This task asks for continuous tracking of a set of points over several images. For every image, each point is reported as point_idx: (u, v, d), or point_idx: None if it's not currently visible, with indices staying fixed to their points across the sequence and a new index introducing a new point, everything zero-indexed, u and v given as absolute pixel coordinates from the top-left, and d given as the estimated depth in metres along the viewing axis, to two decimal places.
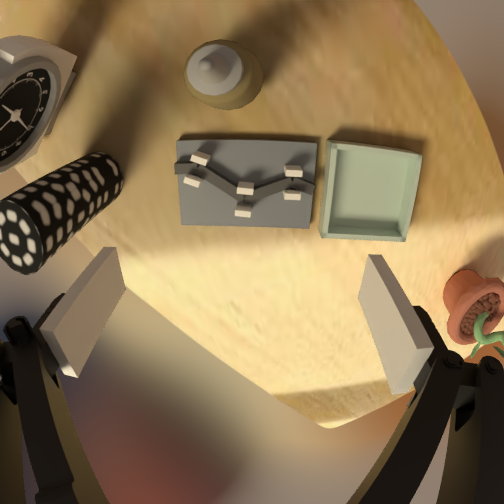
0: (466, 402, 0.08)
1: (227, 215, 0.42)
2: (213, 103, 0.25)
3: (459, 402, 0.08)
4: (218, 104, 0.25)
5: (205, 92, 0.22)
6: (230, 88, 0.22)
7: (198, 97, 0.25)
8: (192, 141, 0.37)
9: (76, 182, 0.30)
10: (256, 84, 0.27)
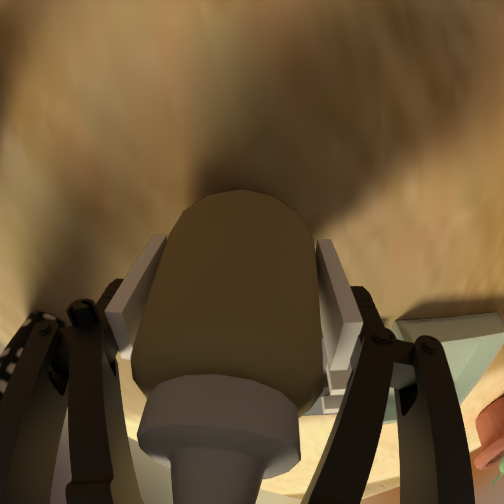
0: (404, 382, 0.09)
1: None
2: None
3: (396, 381, 0.09)
4: None
5: None
6: (263, 478, 0.08)
7: None
8: None
9: None
10: None
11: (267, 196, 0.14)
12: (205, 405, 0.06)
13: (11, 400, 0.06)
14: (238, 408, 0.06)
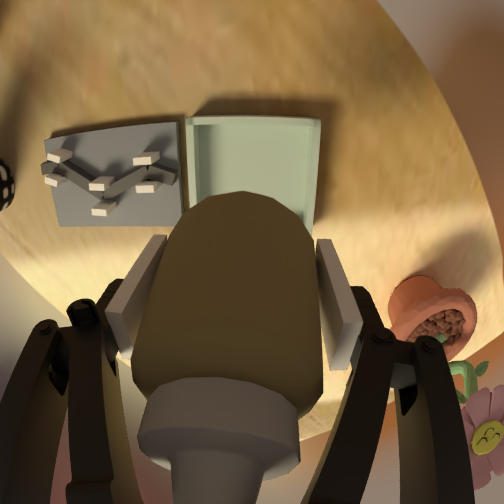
0: (404, 382, 0.09)
1: (96, 215, 0.34)
2: None
3: (396, 381, 0.09)
4: None
5: None
6: (263, 480, 0.08)
7: None
8: (56, 138, 0.29)
9: None
10: None
11: (267, 198, 0.14)
12: (205, 408, 0.06)
13: (11, 400, 0.06)
14: (238, 411, 0.06)
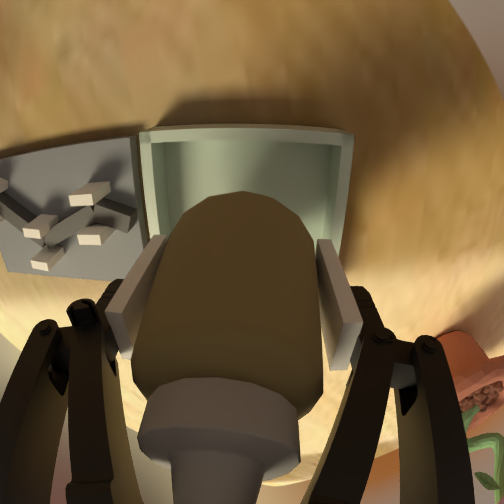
0: (404, 382, 0.09)
1: None
2: None
3: (396, 381, 0.09)
4: None
5: None
6: (263, 480, 0.08)
7: None
8: None
9: None
10: None
11: (267, 198, 0.14)
12: (205, 408, 0.06)
13: (11, 400, 0.06)
14: (238, 411, 0.06)
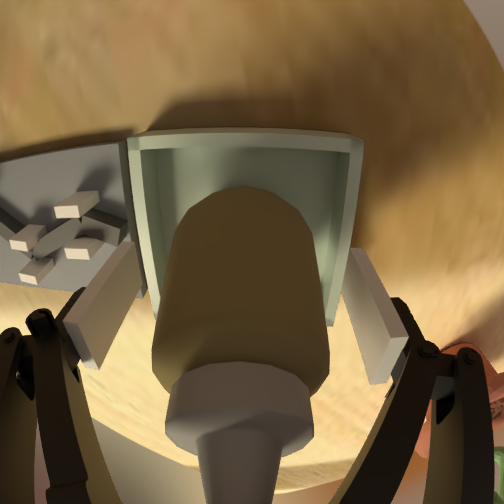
0: (444, 394, 0.09)
1: None
2: None
3: (437, 393, 0.09)
4: None
5: None
6: None
7: None
8: None
9: None
10: None
11: (269, 193, 0.15)
12: (231, 389, 0.07)
13: None
14: (261, 390, 0.07)
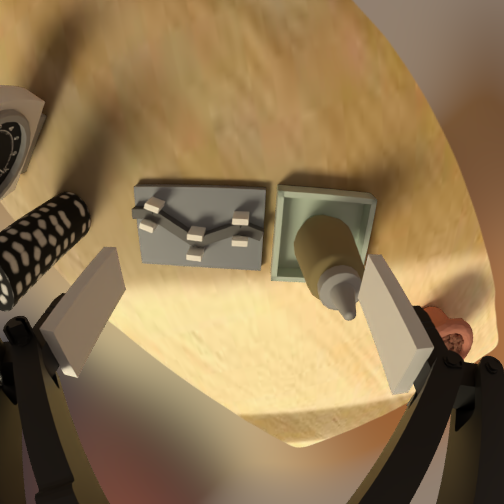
0: (466, 402, 0.08)
1: (183, 256, 0.44)
2: None
3: (459, 402, 0.08)
4: None
5: (331, 308, 0.30)
6: None
7: (317, 297, 0.33)
8: (148, 187, 0.39)
9: (42, 228, 0.32)
10: None
11: (338, 219, 0.37)
12: (343, 270, 0.29)
13: None
14: (350, 270, 0.29)
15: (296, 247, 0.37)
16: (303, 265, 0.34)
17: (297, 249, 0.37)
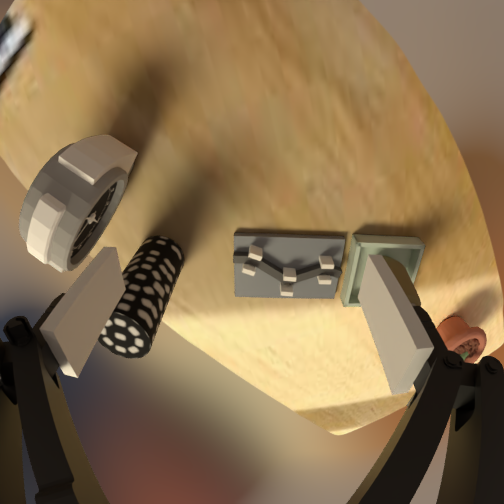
0: (466, 403, 0.08)
1: (272, 290, 0.53)
2: None
3: (459, 402, 0.08)
4: None
5: None
6: None
7: None
8: (247, 237, 0.48)
9: (158, 280, 0.41)
10: None
11: (398, 262, 0.46)
12: None
13: None
14: None
15: None
16: None
17: None
